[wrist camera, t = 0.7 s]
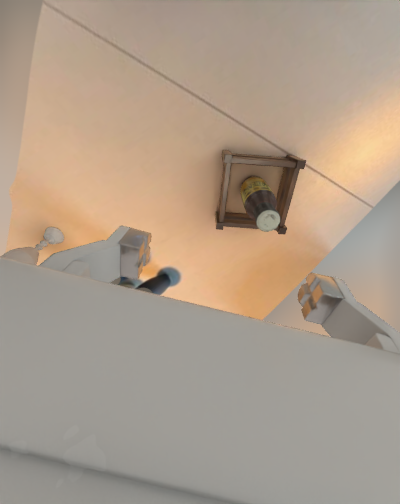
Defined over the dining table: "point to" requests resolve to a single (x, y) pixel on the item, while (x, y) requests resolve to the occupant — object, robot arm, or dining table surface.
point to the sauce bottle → (260, 203)
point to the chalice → (31, 253)
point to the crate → (284, 192)
